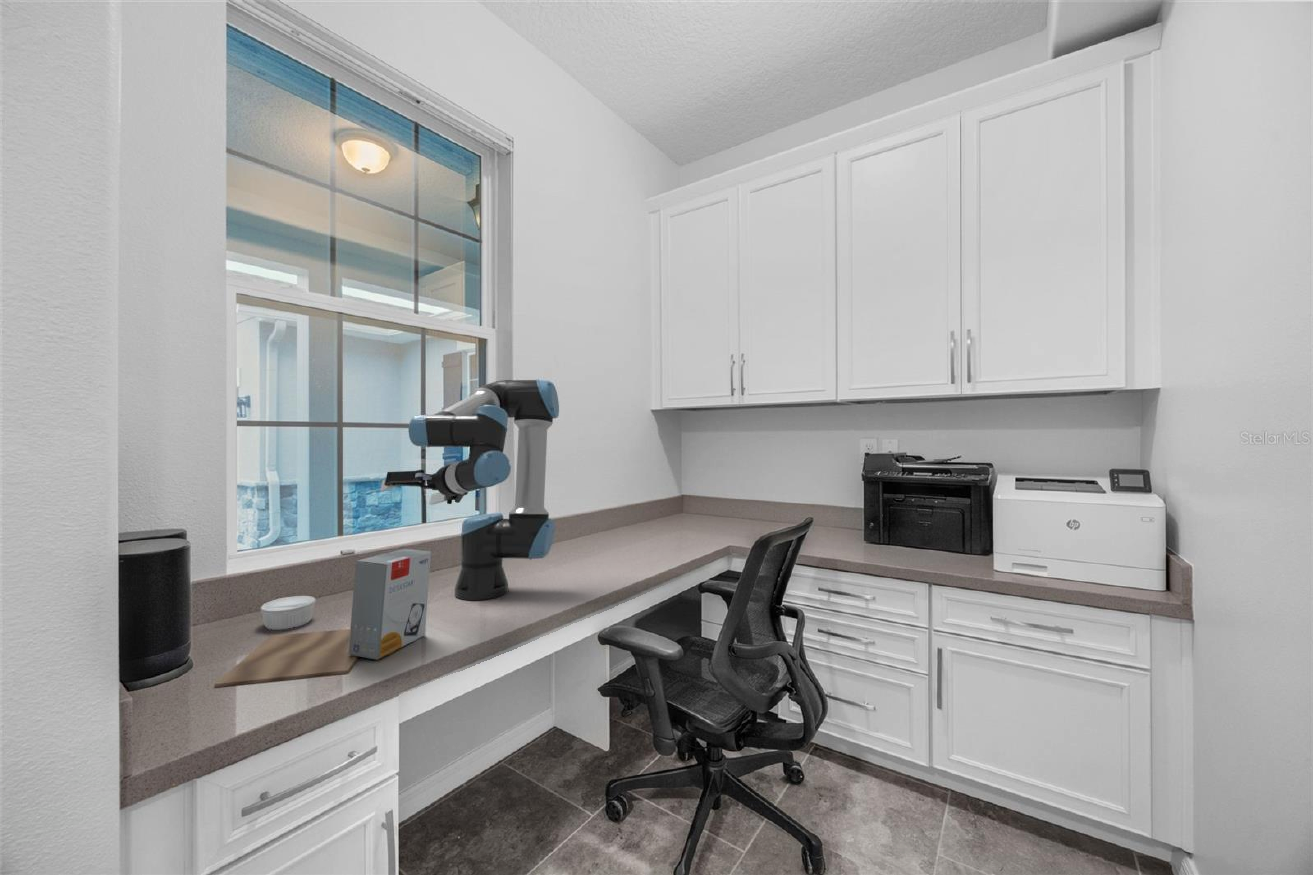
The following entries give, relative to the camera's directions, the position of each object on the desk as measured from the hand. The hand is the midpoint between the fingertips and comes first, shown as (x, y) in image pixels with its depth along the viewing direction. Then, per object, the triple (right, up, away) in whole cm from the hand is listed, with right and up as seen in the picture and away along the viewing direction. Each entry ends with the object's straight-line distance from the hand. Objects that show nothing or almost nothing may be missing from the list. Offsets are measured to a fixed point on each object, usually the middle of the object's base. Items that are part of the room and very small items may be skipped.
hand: (408, 493), depth 135 cm
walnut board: (-10, -32, -24) cm, 41 cm away
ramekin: (-27, -32, -6) cm, 42 cm away
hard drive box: (+5, -32, -20) cm, 38 cm away
